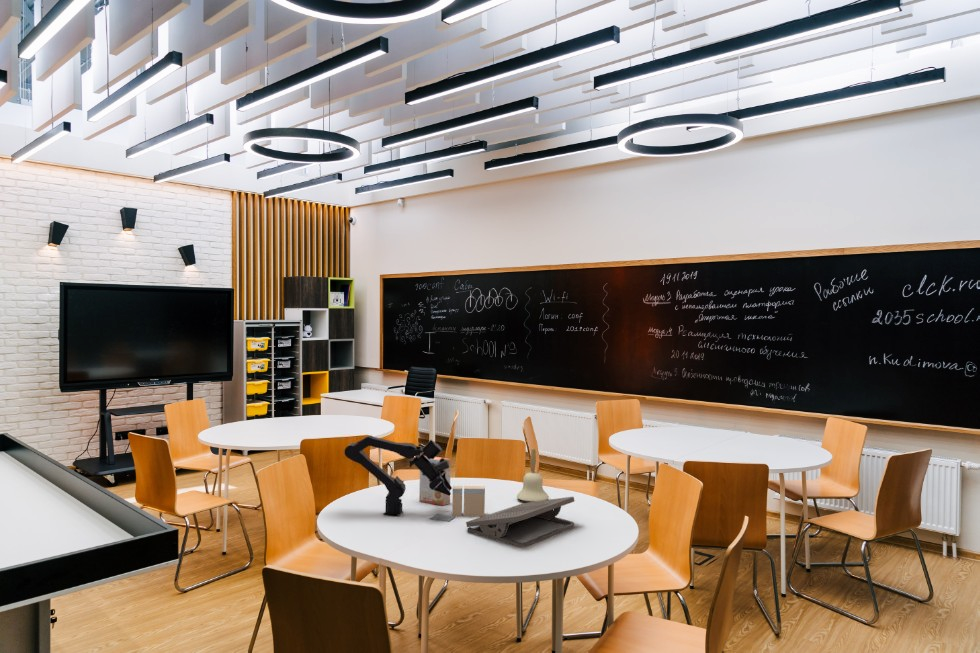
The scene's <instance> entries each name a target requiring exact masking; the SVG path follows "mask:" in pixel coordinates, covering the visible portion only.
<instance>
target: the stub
mask: <svg viewBox="0 0 980 653" xmlns="http://www.w3.org/2000/svg"><path fill="white" fill-rule="evenodd" d="M451 509H452V510H451V511H452V512H451V516H456V517H462V514H463V513H462V512H463V485H453V486H452V508H451Z"/></svg>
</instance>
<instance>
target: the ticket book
mask: <svg viewBox="0 0 980 653" xmlns="http://www.w3.org/2000/svg"><path fill="white" fill-rule="evenodd" d="M485 501H486V487H485V485H464V487H463V517H483V516H485V508H486V507H485V506H486V503H485Z"/></svg>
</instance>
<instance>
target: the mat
mask: <svg viewBox="0 0 980 653" xmlns="http://www.w3.org/2000/svg"><path fill="white" fill-rule="evenodd" d="M455 518H457V516H452V514H451V515H449V514H444V513H436V514H434V515H433V516H431V517H430V518H429V520H433V519H436V520H435V521H440V520H441V521H443V522H449V523H450V522H451V521H452V520H454V519H455Z"/></svg>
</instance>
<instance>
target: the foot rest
mask: <svg viewBox="0 0 980 653" xmlns="http://www.w3.org/2000/svg"><path fill="white" fill-rule="evenodd" d="M575 501H576V500H575V497H574V496H567V497H561V498H553V499H547V500H544V501H536V502H531V501H528V502H525V503H524V502H523V503H520V504H517V505H516V504H515V505H514V506H511V507H507V508H504V509H501V510H498V511H496V512H495V511H494V512H492V513H489V514H486V515H484V516H479V517H477V518H475V519H474V518H473V519H472V520H471V519H470V520H468V521H466V522H465V524H466V527H467V532H468V533H471V534H474V535H477V536H481V537H484V538H487V539H491V540H494V541H497V542H500V543H503V544H506V545H510V546H512V547H515V548H520V549H521V548H523V549H524V548H528V547H532V546H533V545H535V544H538V543H540V542H543V541H545V540H547V539H549V538H553V537H555V536H558V535H560V534H562V533H564V532H567V531H569V530H572V529H573V528H575V527H576V526H575V522H574V521H572V520H569V519H568V520H567V519H564V518H560V517H557V516H558V515H559V514H560V512H561V508H562V507H564V506H566V505H569V504H571V503H574V502H575ZM533 517H536V518H537V517H538V518H541V519H544V520H547V521H548V520H549V521H552V522H555V523H560V524H562V525H565V526H562V527H559V528H557V529H554V530H552V531H550V532H547V533H545V534H542V535H540V536H537V537H534V538H532V539H530V540H528V541H525V542H520V541H516V540H513V539H509V538H507V537H504V536H505V535H506V534H507V532H508V530H509V525H513V524H515V523H518V522H521V521H524V520H527V519H531V518H533ZM474 527H479V528H480V529H477V528H474Z"/></svg>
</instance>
